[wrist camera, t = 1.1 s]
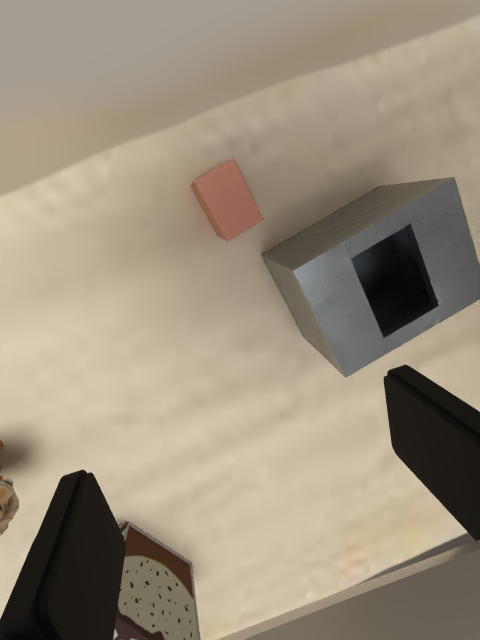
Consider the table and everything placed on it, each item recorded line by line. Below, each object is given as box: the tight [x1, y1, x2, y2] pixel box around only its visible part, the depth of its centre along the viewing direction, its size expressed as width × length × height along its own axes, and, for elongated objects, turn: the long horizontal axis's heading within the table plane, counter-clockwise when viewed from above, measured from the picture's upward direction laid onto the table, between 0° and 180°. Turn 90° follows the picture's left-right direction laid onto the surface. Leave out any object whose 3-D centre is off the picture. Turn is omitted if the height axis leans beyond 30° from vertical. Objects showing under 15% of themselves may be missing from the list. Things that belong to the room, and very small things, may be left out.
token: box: [191, 158, 264, 241], centre depth 27 cm, size 3×4×6 cm, turn 28°
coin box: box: [261, 177, 480, 378], centre depth 28 cm, size 12×9×9 cm
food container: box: [113, 521, 200, 640], centre depth 34 cm, size 12×6×10 cm, turn 41°
